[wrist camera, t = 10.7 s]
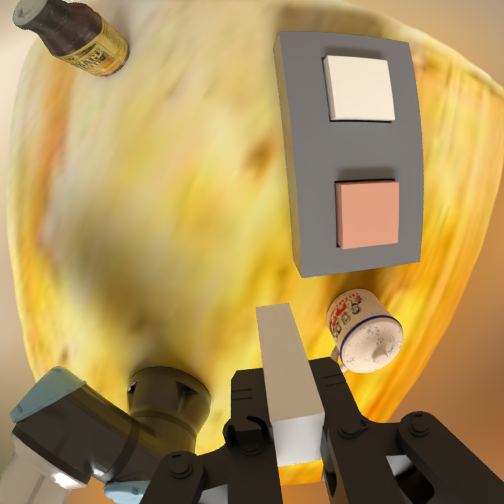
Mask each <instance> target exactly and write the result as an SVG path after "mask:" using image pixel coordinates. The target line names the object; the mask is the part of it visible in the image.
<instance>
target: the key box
mask: <svg viewBox="0 0 504 504" xmlns="http://www.w3.org/2000/svg"><path fill="white" fill-rule="evenodd" d="M273 51H274V59H275V66H276V74H277V82H278V90H279V99H280V108H281V117H282V126H283V136H284V146H285V156H286V167H287V178H288V190H289V202H290V216H291V230H292V245H293V260H294V262H295V264H296V267H297V269H298V271H299V273H300V275H301V278H306V277H314V276H322V275H330V274H338V273H345V272H353V271H360V270H368V269H375V268H382V267H389V266H395V265H402V264H409V263H415V262H420V253H421V241H422V226H423V197H424V175H423V147H422V131H421V120H420V110H419V101H418V93H417V86H416V80H415V74H414V68H413V62H412V57H411V52H410V47H409V43H407V42H402V41H396V40H390V39H384V38H378V37H370V36H362V35H353V34H342V33H328V32H278V35H277V39H276V42H275V45H274V48H273ZM327 56H345V57H358V58H369V59H378V60H386V61H387V64H388V70H389V76H390V82H391V89H392V97H393V105H394V114H395V120H390V121H383V122H360V121H329V113H328V104H327V96H326V88H325V80H324V73H323V66H322V61H323V60H324V59H325V58H326V57H327ZM360 179H387V180H391V181H395V182H399V229H398V243H393V244H384V245H375V246H367V247H358V248H350V249H342V248H341V247H340V246H339V245H338V244H337V243H336V210H335V188H334V181H341V180H360Z"/></svg>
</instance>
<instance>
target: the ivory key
mask: <svg viewBox="0 0 504 504" xmlns="http://www.w3.org/2000/svg"><path fill="white" fill-rule="evenodd" d="M322 66H323V73H324V80H325V88H326V96H327V104H328V113H329V121H360V122H383V121H390V120H395V114H394V105H393V97H392V89H391V82H390V76H389V70H388V64H387V61H386V60H378V59H369V58H358V57H345V56H327V57H326V58H325V59H324V60H323V61H322Z"/></svg>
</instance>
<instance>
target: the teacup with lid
mask: <svg viewBox="0 0 504 504" xmlns="http://www.w3.org/2000/svg"><path fill="white" fill-rule="evenodd" d="M327 325H328V327H329V330H330V332H331V334H332V336H333V338H334V341H335V343H336V346H335V347H334V349H333V351H332V353H331V358H332V359H333V360H334V361H335V362H338V356H339V354H340V358H341V361H342V363H343V364H342V365H341V366H340V368H341V371H342V373H344V372H345V371H346V370H347V369H350V370H352V371H354V372H358V373H367V372H372V371H375V370H378V369H380V368H382V367H384V366H385V365H387V364H388V363H389V362H390V361H391V360H392V359H393V358H394V357H395V356H396V355H397V353H398V352H399V350H400V348H401V346H402V342H403V330H402V326H401V324H400V323H399V322H398V320H396V319H395V318H393V317H392V316H391V314H390V313H389V312H388V311H387V310H386V308H385V307H384V306H383V305H382V303H381V302H380V301H379V300H378V299H377V297H376V296H375V295H374V294H373V293H371V292H370V291H368V290H365V289H353V290H349V291H347V292H345V293H343V294H341V295H340V296H339V297H337V298H336V299H335V300H334V302H333V303H332V304H331V306H330V308H329V310H328V313H327Z"/></svg>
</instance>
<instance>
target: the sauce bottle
mask: <svg viewBox="0 0 504 504" xmlns="http://www.w3.org/2000/svg"><path fill="white" fill-rule="evenodd" d="M13 22H14V24H15V25H16V26H18V27H19V28H21V29H24V30H28V29H29V30H31V31H33V32H35V33H37V34H38V35H39V36H40V38H41V39H42V41H43V42H44V44H45V45H46V47H47V48H48V50H49V51H50V53H51V54H52V55H53V56H55V57H57V58H59V59H61V60H64V61H66V62H68V63H70V64H72V65H74V66H76V67H78V68H81V69H83V70H85V71H87V72H89V73H91V74H93V75H97V76H109V75H112V74H114V73H116V72H117V71H119V70H120V69H121V68H122V67H123V66H124V64H125V62H126V61H127V59H128V56H129V48H128V45H127V43H126V41H125V39H124V38H123V37H122V36H121V35H120V34H119V33H118V32H117V31H116V30H115V29H114V28H113V27H112V26H110V25H109V24H108V23H107V22H106V21H105V20H104V19H103V18H102V17H101V16H100V15H99V14H98V13H96V12H94V11H93V10H92V9H91V8H90V7H89V6H87V5H86V4H83V3H77V2H75V3H74V2H73V3H67V2H65V1H62V0H20V2H19V3H18V4H17V6H16V8H15V10H14V13H13Z"/></svg>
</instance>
